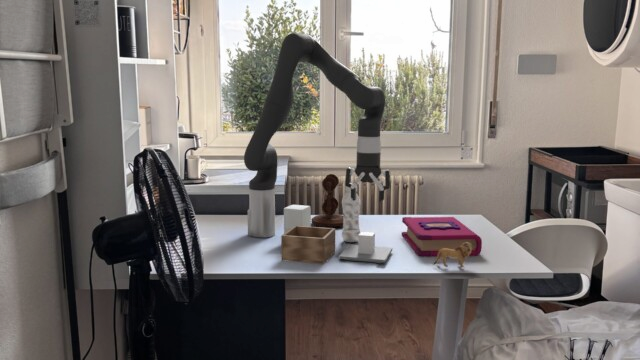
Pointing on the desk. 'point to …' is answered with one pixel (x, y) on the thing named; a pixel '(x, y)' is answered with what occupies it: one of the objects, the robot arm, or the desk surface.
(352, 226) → the plastic bottle
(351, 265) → the desk surface
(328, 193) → the brown wooden sculpture
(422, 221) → the book
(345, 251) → the lid
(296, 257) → the box
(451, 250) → the lion figurine
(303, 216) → the supplement box
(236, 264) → the desk surface
